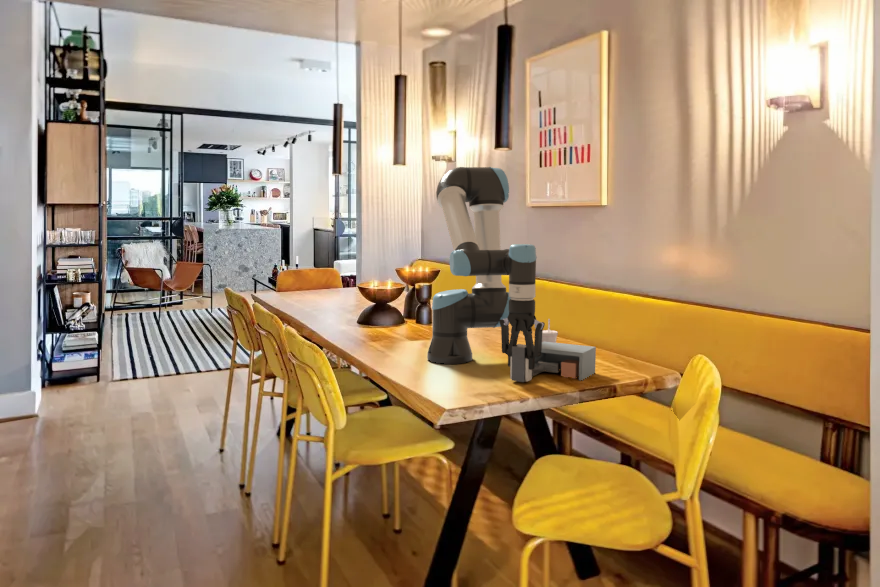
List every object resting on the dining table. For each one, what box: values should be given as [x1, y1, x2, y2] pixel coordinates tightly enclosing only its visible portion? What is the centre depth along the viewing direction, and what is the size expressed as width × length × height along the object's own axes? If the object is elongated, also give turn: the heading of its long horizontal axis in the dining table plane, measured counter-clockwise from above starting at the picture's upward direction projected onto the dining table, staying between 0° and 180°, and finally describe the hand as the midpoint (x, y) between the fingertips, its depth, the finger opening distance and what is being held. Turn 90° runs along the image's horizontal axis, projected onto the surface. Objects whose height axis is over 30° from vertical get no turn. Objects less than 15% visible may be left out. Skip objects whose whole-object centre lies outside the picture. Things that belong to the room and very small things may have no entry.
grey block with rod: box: [511, 343, 561, 383], centre depth 192 cm, size 8×17×10 cm, turn 146°
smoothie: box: [542, 318, 559, 343], centre depth 218 cm, size 6×6×14 cm
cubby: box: [535, 342, 597, 381], centre depth 199 cm, size 17×11×8 cm, turn 57°
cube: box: [560, 359, 579, 379], centre depth 196 cm, size 4×4×4 cm
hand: (520, 378), depth 188 cm, fingers closed on grey block with rod, 4 cm apart
